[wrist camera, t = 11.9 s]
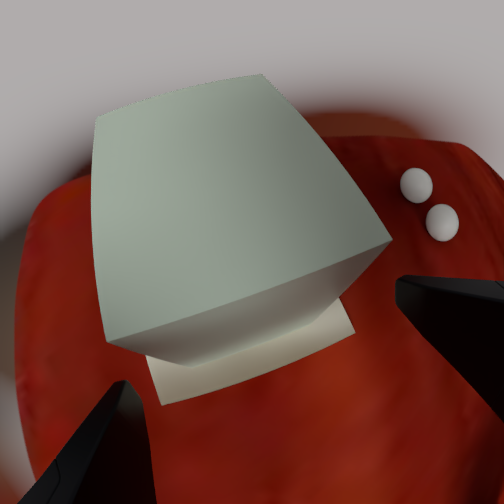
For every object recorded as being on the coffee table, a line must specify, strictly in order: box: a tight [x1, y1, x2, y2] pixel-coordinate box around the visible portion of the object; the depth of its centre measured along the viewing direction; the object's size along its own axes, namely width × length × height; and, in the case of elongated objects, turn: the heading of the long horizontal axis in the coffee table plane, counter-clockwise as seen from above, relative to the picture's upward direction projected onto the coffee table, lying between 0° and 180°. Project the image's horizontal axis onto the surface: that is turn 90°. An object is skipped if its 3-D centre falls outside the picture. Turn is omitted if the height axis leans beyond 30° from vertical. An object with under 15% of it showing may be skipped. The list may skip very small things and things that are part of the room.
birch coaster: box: [146, 297, 355, 405], centre depth 17 cm, size 12×12×1 cm
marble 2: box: [426, 204, 459, 241], centre depth 18 cm, size 3×3×3 cm
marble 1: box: [400, 168, 433, 203], centre depth 19 cm, size 3×3×3 cm
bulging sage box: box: [91, 74, 393, 368], centre depth 12 cm, size 9×7×10 cm
